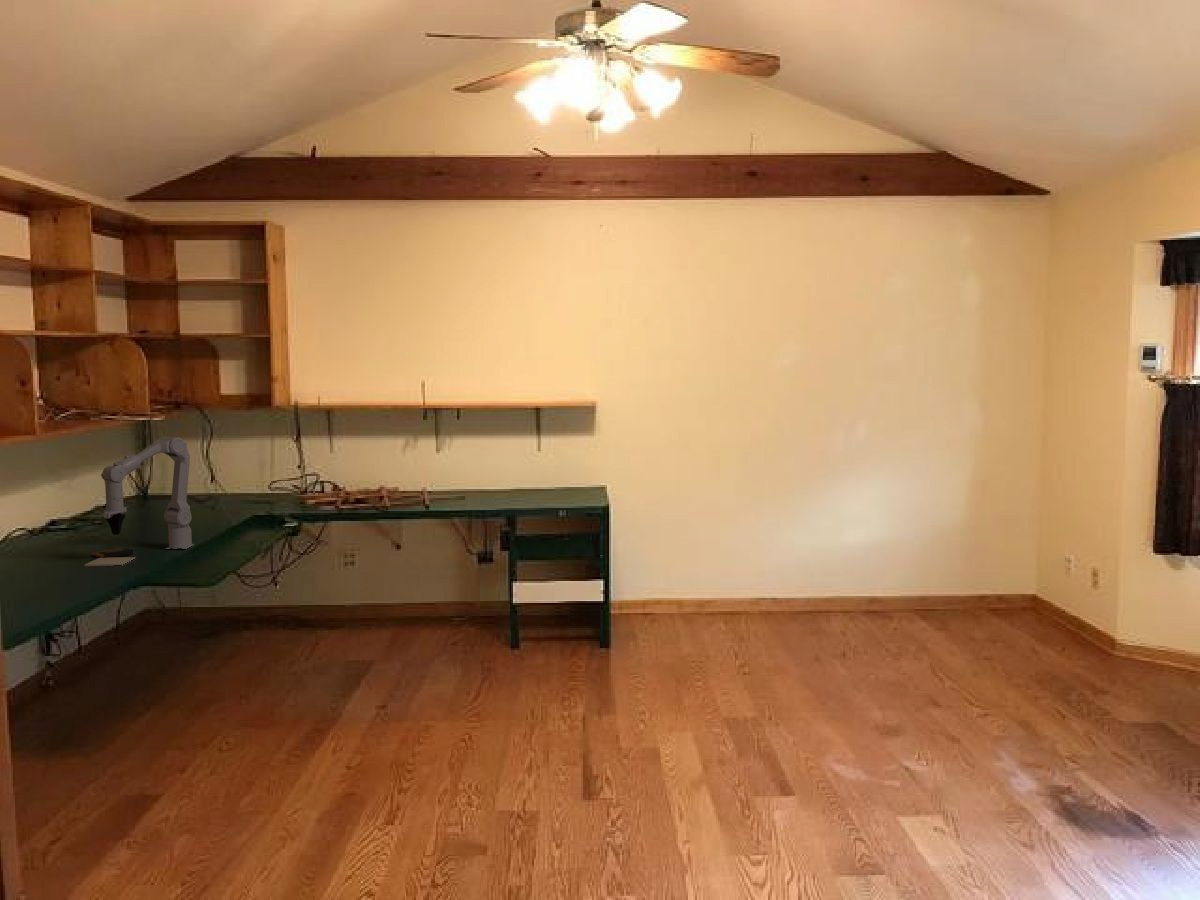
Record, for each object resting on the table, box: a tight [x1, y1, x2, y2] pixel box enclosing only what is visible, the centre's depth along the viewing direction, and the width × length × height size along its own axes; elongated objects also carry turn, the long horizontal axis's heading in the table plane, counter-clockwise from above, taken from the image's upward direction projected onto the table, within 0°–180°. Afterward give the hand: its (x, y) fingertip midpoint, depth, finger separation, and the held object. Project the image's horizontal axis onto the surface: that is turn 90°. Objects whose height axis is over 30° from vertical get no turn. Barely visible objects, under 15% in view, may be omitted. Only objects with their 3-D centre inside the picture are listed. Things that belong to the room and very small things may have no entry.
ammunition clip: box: [91, 548, 134, 558], centre depth 363 cm, size 11×2×12 cm
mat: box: [84, 556, 137, 567], centre depth 350 cm, size 12×13×1 cm
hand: (116, 534), depth 355 cm, fingers closed
